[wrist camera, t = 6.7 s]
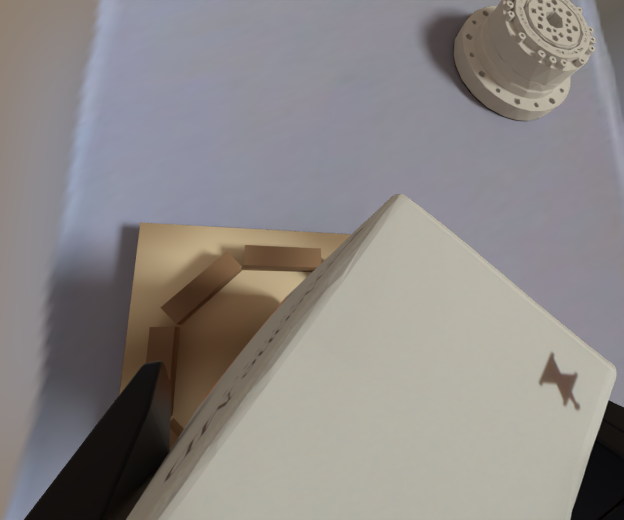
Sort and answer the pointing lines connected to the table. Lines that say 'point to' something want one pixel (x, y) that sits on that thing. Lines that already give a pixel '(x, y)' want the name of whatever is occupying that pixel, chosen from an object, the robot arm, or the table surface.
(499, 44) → the mechanical component
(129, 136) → the table surface
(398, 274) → the skincare box
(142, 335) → the board
